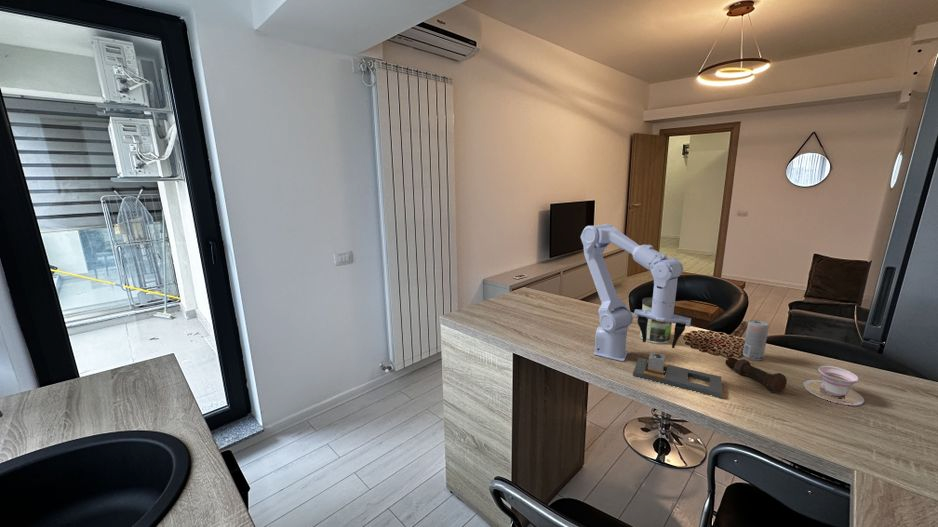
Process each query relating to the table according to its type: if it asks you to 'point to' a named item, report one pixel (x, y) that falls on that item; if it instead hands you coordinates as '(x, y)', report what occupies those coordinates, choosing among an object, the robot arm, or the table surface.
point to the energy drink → (755, 340)
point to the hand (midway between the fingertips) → (658, 343)
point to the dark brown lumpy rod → (758, 374)
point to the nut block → (656, 363)
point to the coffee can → (656, 326)
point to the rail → (681, 378)
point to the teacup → (836, 383)
